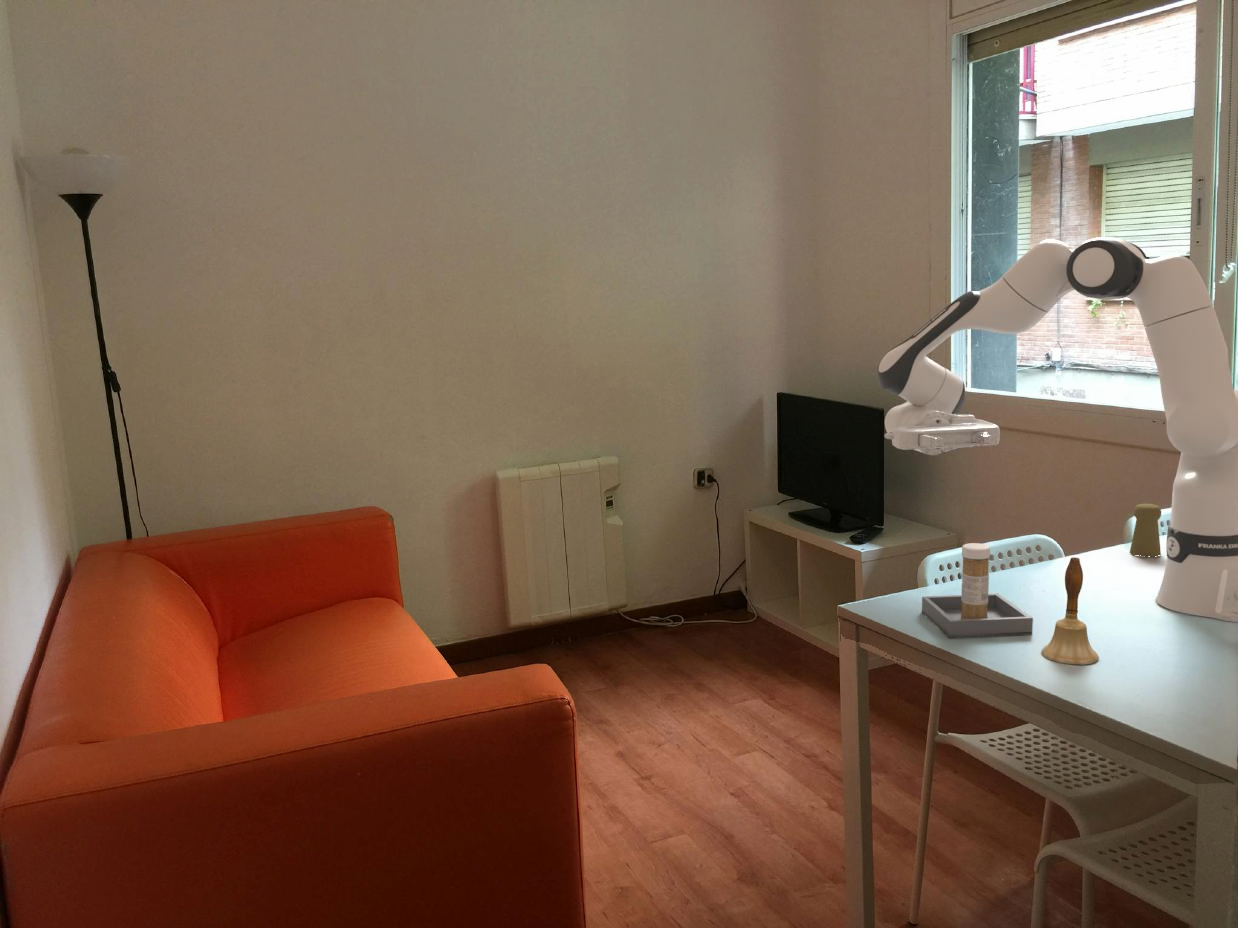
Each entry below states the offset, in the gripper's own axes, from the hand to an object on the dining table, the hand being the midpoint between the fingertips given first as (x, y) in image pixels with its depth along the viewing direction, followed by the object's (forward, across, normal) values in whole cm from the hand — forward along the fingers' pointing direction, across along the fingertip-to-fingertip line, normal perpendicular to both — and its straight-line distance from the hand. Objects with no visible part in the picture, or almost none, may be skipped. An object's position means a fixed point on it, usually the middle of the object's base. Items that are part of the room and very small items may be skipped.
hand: (963, 441), depth 182 cm
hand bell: (+32, +3, +30) cm, 44 cm away
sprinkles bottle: (+15, -4, +30) cm, 33 cm away
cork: (-19, +52, +30) cm, 63 cm away
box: (+15, -4, +30) cm, 34 cm away
